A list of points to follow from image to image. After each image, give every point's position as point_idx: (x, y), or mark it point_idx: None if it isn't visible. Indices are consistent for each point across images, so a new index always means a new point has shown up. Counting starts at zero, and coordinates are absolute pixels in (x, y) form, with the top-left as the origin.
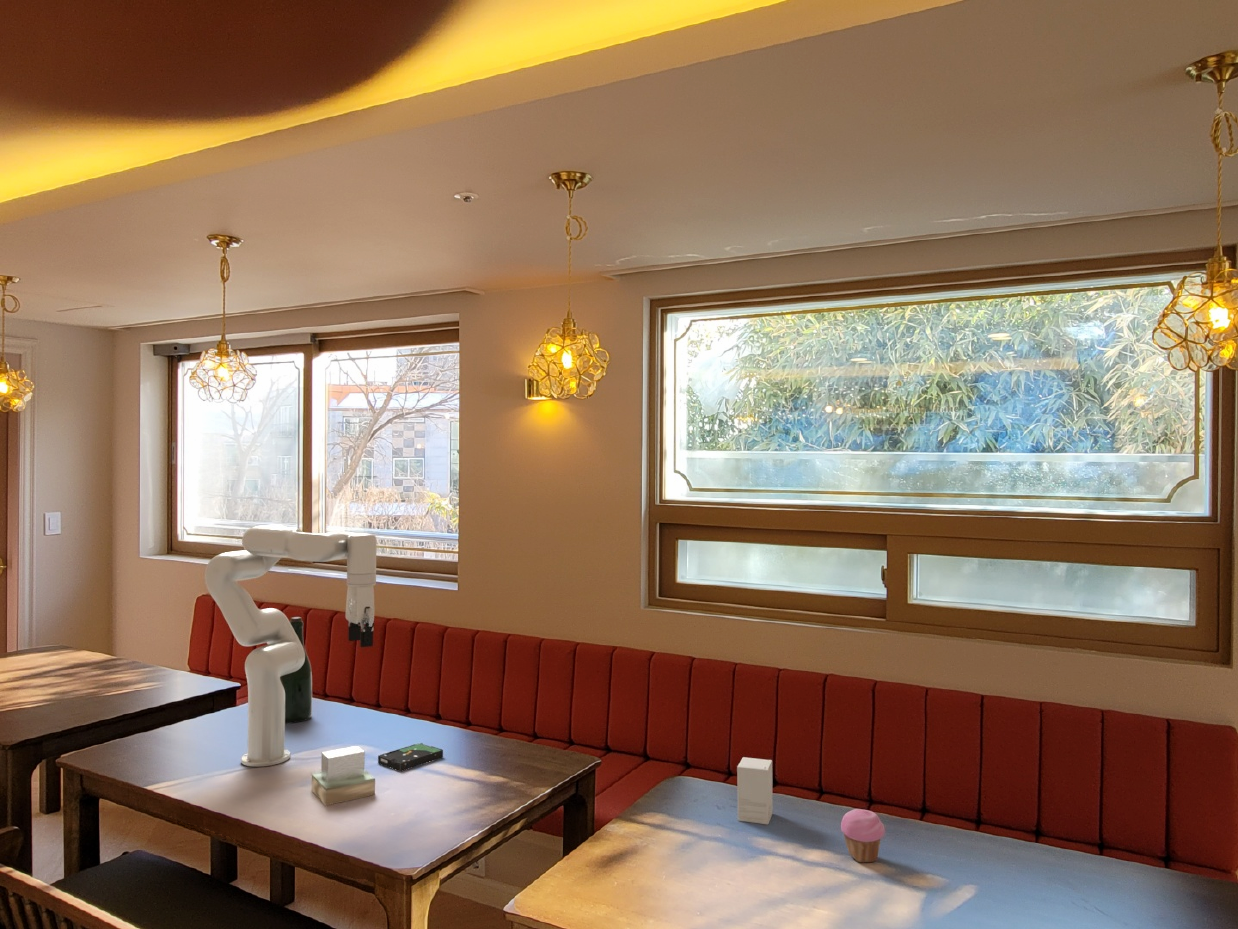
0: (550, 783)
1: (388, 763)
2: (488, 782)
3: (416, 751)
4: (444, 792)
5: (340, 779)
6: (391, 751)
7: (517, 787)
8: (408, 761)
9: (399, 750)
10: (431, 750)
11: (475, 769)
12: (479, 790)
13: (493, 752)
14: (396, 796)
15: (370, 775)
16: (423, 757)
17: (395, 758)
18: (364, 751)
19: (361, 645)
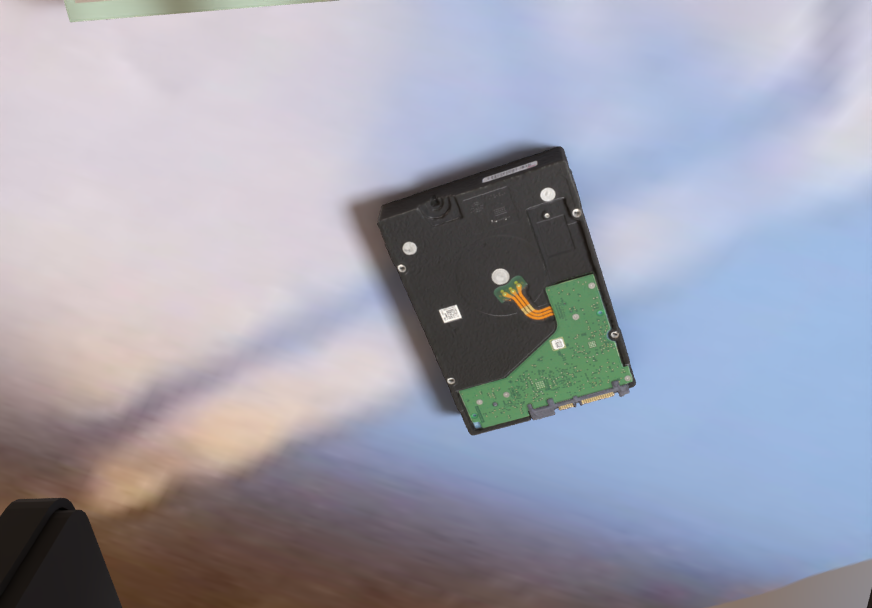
0: None
1: (472, 182)
2: (93, 451)
3: (514, 337)
4: (36, 285)
5: None
6: (587, 238)
7: None
8: (394, 264)
9: (586, 277)
10: (494, 395)
11: (258, 463)
12: (17, 398)
13: (423, 574)
14: (50, 93)
15: (124, 11)
16: (429, 339)
17: (467, 224)
18: (75, 2)
19: (7, 528)
